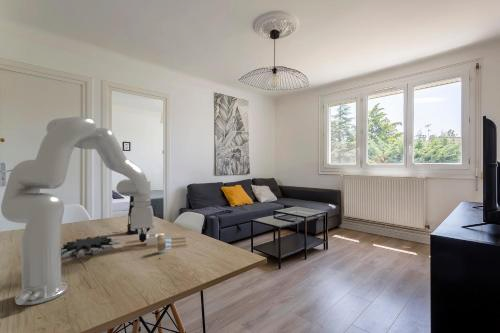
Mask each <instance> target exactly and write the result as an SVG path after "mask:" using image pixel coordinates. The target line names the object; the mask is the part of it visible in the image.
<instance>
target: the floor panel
mask: <svg viewBox="0 0 500 333" xmlns="http://www.w3.org/2000/svg"><path fill="white" fill-rule="evenodd" d="M125 241H126V242H125V243H124V245H123V246H122V248H121V249H120V251H119V252H118V255H119V254H120V255H121V254H130V253H139V252H150V251H158V245H151V246H147V238H146V240H145V241H144V242H141V240H139V238H138V239H128V240H125ZM181 248H182V249H183V248H187V240H186V235H177V236H166V248H165V250H170V249H171V250H172V249H181Z"/></svg>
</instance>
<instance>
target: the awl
mask: <svg viewBox="0 0 500 333" xmlns="http://www.w3.org/2000/svg"><path fill="white" fill-rule="evenodd" d="M166 237H167V236H166V235H165V234H164V235H159V236H157V238H158V250H157V254H162V255H163V254H165V253H166V249H165V248H166Z"/></svg>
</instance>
